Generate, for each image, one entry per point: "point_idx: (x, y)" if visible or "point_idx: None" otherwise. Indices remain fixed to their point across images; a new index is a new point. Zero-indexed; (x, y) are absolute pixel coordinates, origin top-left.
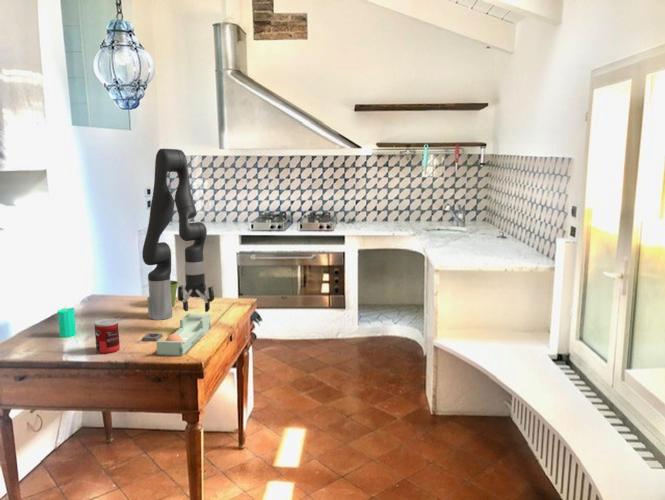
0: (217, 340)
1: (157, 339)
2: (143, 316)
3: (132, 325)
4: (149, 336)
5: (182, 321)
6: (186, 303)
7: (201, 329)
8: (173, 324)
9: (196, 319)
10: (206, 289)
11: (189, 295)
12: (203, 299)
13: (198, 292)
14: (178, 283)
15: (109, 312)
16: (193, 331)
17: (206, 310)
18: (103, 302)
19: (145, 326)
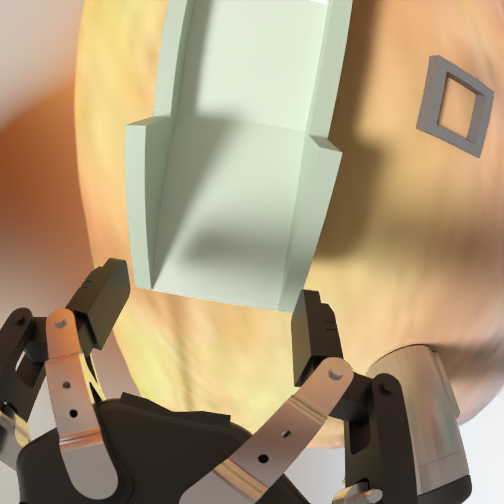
0: (84, 52)
1: (430, 68)
2: (443, 365)
3: (491, 295)
4: (468, 137)
5: (317, 145)
6: (305, 354)
7: (156, 94)
8: (368, 305)
9: (223, 243)
10: (16, 444)
11: (252, 437)
12: (76, 349)
13: (78, 444)
14: (343, 480)
15: (489, 372)
16: (228, 120)
17: (108, 263)
18: (472, 407)
19: (465, 285)
